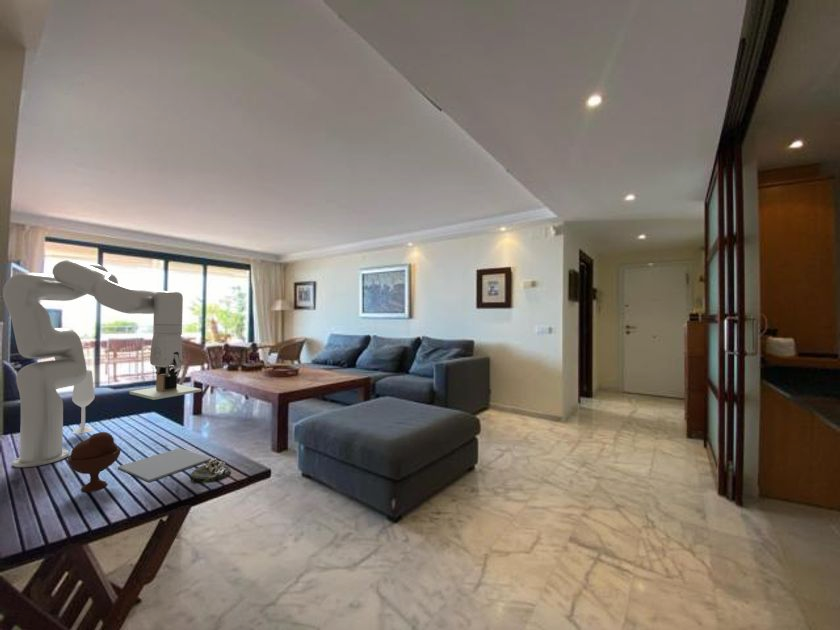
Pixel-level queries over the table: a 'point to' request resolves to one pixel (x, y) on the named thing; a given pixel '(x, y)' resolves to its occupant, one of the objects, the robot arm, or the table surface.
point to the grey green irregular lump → (210, 472)
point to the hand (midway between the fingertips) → (166, 387)
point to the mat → (163, 464)
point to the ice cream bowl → (94, 458)
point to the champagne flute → (84, 399)
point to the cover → (163, 390)
